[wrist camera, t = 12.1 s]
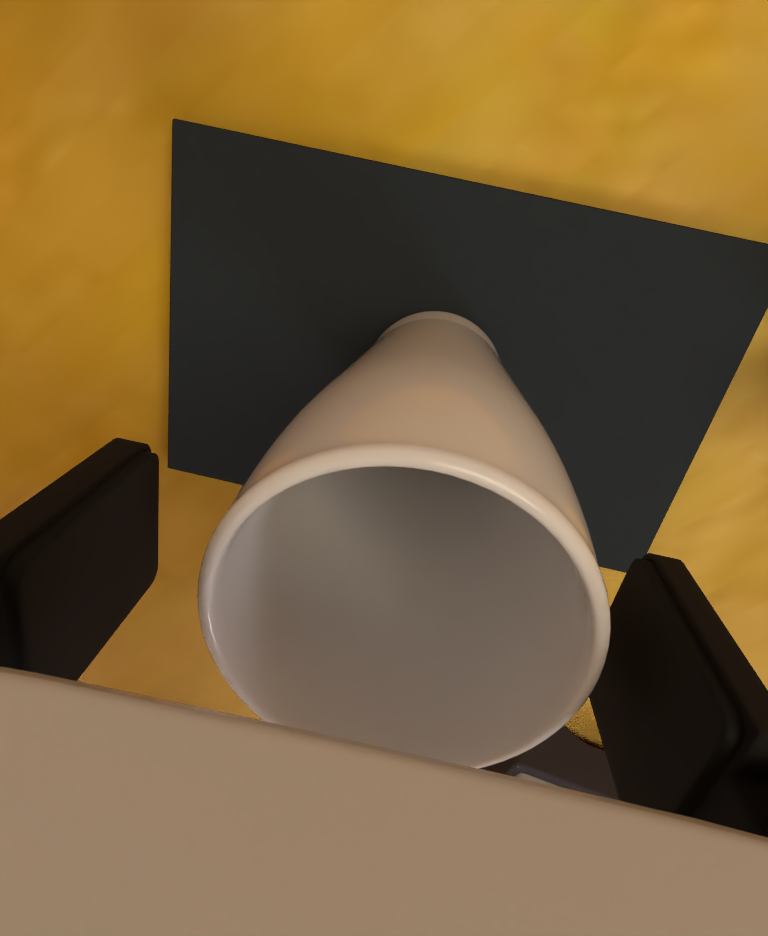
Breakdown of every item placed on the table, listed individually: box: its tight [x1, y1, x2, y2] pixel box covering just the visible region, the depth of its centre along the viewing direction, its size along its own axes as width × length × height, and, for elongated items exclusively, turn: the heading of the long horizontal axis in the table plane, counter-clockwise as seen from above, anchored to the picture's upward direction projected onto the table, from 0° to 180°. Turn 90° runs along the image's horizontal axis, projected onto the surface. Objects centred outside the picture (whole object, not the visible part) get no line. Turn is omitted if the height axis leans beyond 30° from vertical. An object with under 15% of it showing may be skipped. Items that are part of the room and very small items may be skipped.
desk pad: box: [168, 119, 768, 573], centre depth 22 cm, size 22×14×1 cm, turn 79°
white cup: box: [197, 311, 611, 769], centre depth 15 cm, size 7×7×15 cm
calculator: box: [479, 726, 619, 800], centre depth 31 cm, size 11×4×15 cm
